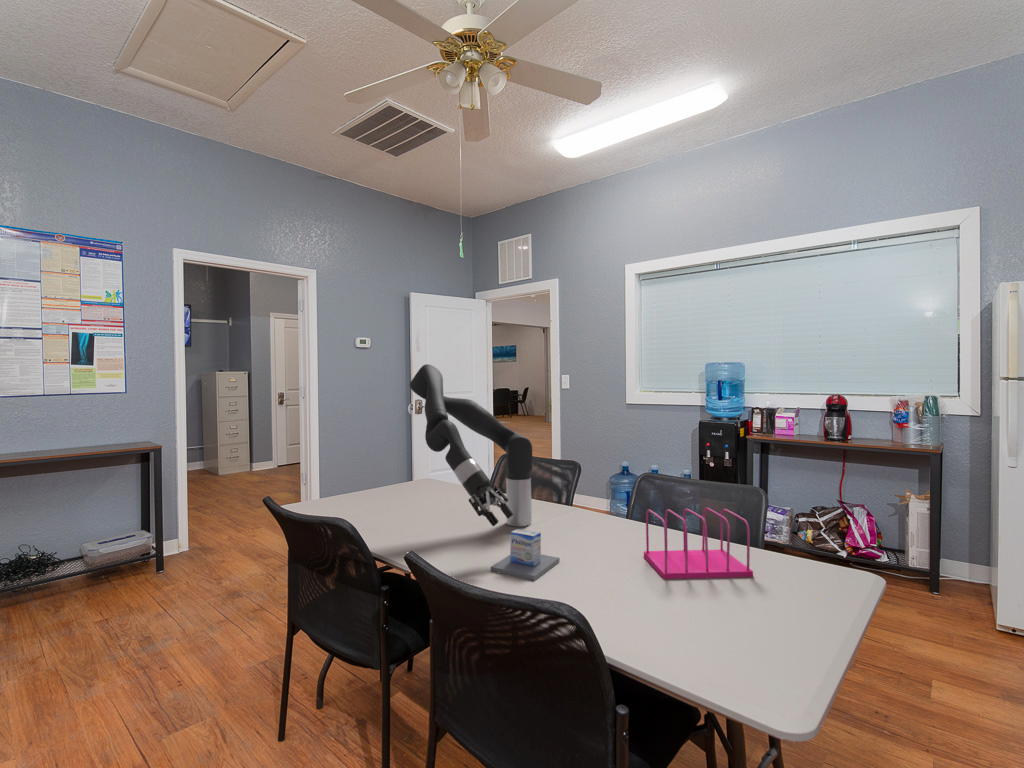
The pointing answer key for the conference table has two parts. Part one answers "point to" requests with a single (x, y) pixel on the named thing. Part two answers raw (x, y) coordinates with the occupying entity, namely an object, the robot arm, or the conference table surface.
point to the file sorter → (697, 554)
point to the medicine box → (525, 547)
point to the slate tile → (525, 567)
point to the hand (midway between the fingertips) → (503, 520)
